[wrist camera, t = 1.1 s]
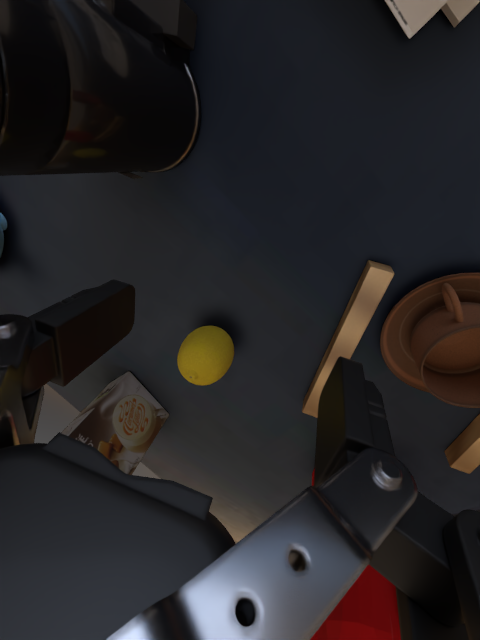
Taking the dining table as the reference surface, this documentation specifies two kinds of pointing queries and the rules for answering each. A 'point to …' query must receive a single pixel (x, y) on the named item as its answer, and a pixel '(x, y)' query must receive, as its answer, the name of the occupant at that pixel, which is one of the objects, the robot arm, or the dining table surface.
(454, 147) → the dining table surface
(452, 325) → the cup and saucer
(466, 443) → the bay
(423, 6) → the newspaper
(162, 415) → the coffee box
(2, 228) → the teapot
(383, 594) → the water bottle
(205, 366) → the lemon
